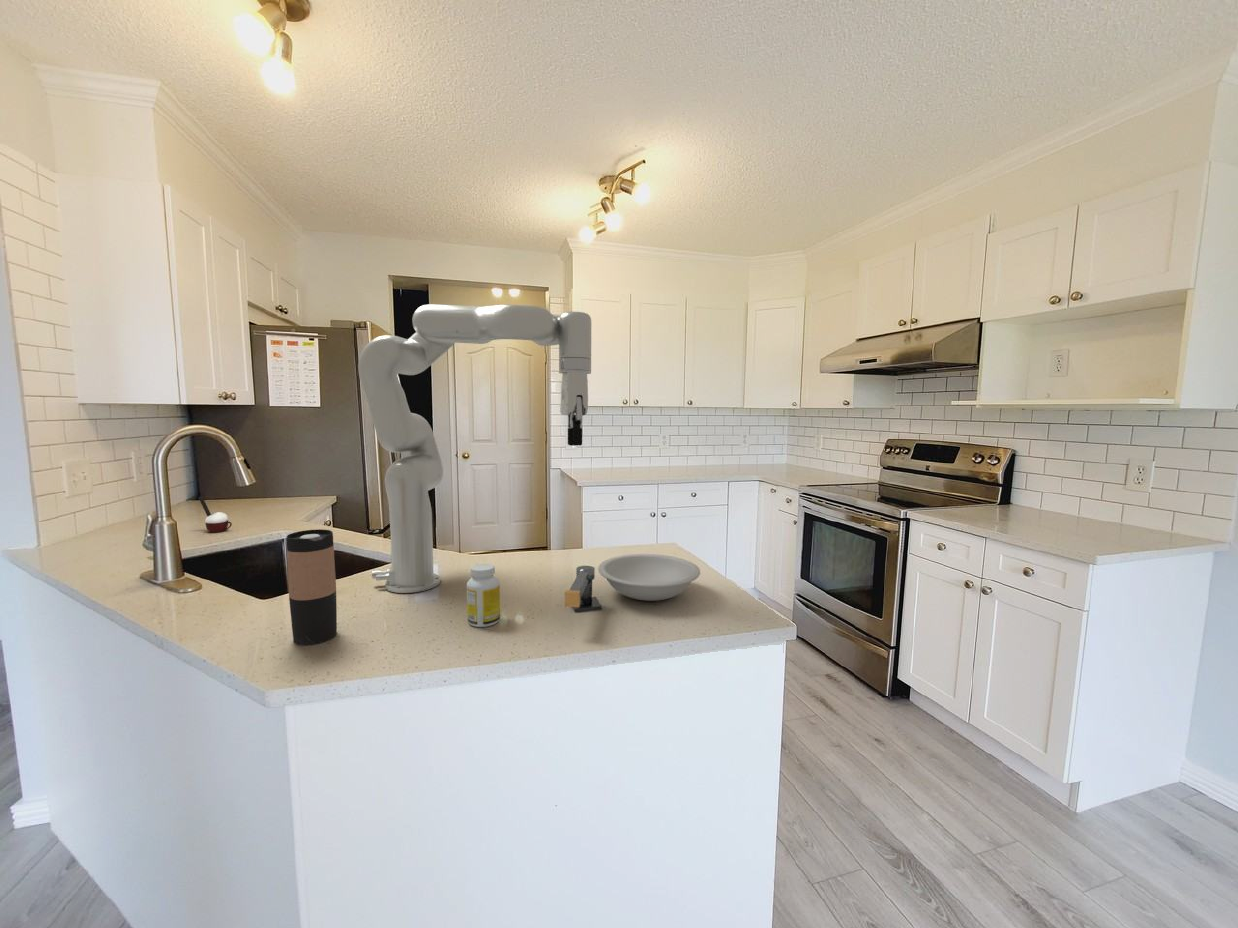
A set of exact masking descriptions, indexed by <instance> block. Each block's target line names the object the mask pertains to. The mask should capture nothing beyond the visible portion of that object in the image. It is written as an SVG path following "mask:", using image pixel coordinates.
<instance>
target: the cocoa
mask: <svg viewBox="0 0 1238 928" xmlns="http://www.w3.org/2000/svg"><path fill="white" fill-rule="evenodd" d="M198 500H199V502H200V504H201V507H202V508H203V510H204V512H205V515H206V518H205V520H204V524H205V527H206V530H207V532H209V533H212V534H217V533H223V532H226V530H229V529H230V528H231V527H232V526H233V525H232V524H233V523H232V522H231V521H229V519H228V514H226V513H225V512H222V511H221V512H220V511H218V512H214V513H213V514H212V513H211V512H210V510H209V508H208V505H207V503H206V501H205V499H204V497H203V496H199V497H198Z"/></svg>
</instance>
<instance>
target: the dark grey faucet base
mask: <svg viewBox="0 0 1238 928" xmlns="http://www.w3.org/2000/svg"><path fill="white" fill-rule="evenodd" d="M571 608H572V610H573V611H574V613H581V612H591V611H592V612H593V611H599V610H602V608H603V606H602V605H601V602H600V601H599V600H598V598H597V597H596V596H593V580H591V581H588V583H587V585H586V587H585V590H584V592H583V594H582V596H581V598H580V607H571Z"/></svg>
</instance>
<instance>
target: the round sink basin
mask: <svg viewBox="0 0 1238 928" xmlns="http://www.w3.org/2000/svg"><path fill="white" fill-rule="evenodd" d="M597 570H598V573H599V574H600V576H602V577H603V578H604V579H606V581H607V582H608V583H609V585H610V587H612V588H613V590H615V591H616V592H618V593H619V594H621V595H623V596H625V597H627V598H631V599H633V600H639V601H647V602H648V601H650V602H651V601H663V600H667V599H671V598H673V597H676V596H678V595H680V594H681V593H683V592H684V591H685V590H686V589H688V587H689V586H690V585H691V583H692V582H694V581H695V580H697V579H698V578H699V577H700V575H701V569H700V567H698V565H696V564H695V563H694V562H692V561H689V560H686V559H684V558H680V557H676V556H671V555H665V554H658V553H657V554H653V553H639V554H638V553H634V554H625V555H618V556H615V557H610V558H608V559H605V560H603V561H602V562H601V563H600V564H599V565H598V569H597Z"/></svg>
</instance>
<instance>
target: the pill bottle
mask: <svg viewBox="0 0 1238 928" xmlns="http://www.w3.org/2000/svg"><path fill="white" fill-rule="evenodd" d="M495 567H496V566H495V565H494V564H492V563H478V564H474V565H472V566H471V567H470V575H471V578H469V579H468V581H467V582H466V602H467V603H466V604H467V605H466V606H467V609H466V610H467V622H468V624H469V625H470V626H472V627H474V628H475V627H476V628H486V627H487V628H488V627H491V626H493V625H495V624H497V623H498V622H500V620H501V619H500V618H501V601H500V600H501V599H500V598H501V597H500V596H501V593H500V589H501V588H500V579H499V578H498V577H497V576H494V574H495V572H496V570H495Z"/></svg>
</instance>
